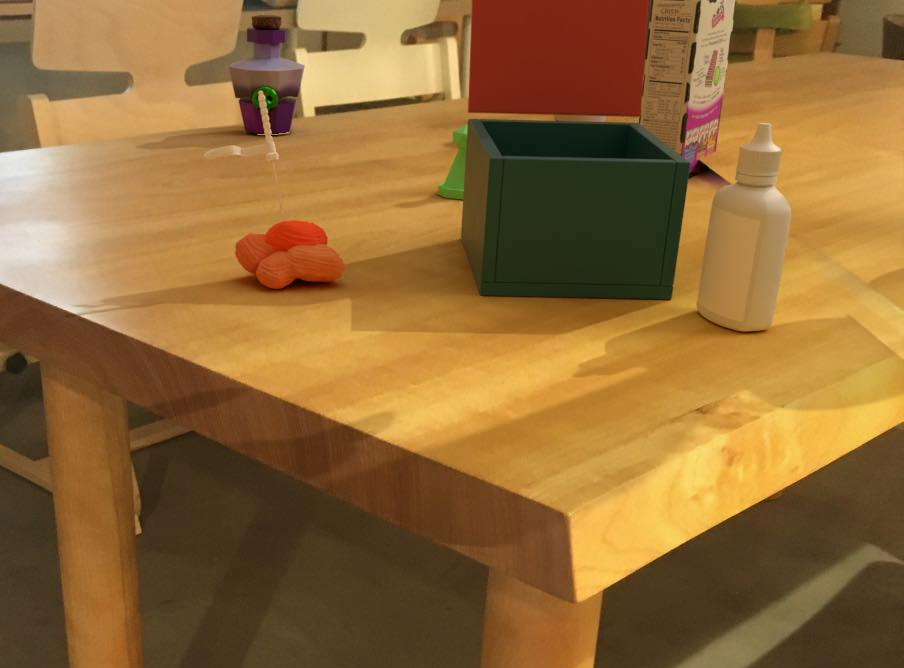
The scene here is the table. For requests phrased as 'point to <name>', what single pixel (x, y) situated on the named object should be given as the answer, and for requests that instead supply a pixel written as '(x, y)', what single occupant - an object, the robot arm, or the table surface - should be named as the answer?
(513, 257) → the open storage box
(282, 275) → the peanut cluster ornament
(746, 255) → the eye dropper bottle
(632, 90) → the lid
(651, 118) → the candy bar box
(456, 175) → the game piece
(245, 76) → the potion bottle
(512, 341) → the table surface
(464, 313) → the table surface
